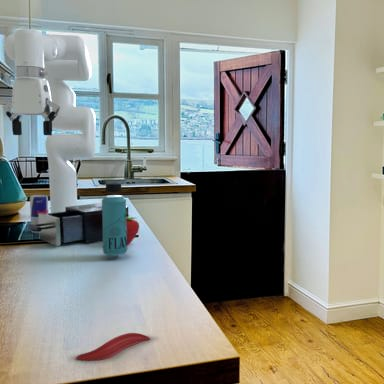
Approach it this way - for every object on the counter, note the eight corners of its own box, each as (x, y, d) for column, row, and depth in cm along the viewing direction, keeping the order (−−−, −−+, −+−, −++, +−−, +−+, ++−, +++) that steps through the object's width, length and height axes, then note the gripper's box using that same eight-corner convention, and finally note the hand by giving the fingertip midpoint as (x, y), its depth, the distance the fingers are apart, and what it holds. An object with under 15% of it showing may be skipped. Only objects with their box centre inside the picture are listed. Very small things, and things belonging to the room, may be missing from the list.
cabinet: (86, 244, 142) (85, 212, 140) (66, 237, 150) (65, 206, 149) (128, 236, 152) (128, 206, 151) (107, 230, 161) (107, 202, 159)
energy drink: (42, 234, 154) (41, 197, 152) (27, 233, 155) (26, 196, 153) (52, 230, 159) (51, 194, 158) (38, 229, 160) (36, 194, 159)
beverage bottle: (105, 262, 123) (103, 184, 120) (100, 256, 129) (98, 182, 126) (130, 259, 126) (129, 183, 123) (124, 253, 132) (122, 181, 129)
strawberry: (111, 244, 142) (110, 210, 141) (136, 241, 146) (135, 209, 145) (117, 248, 137) (116, 214, 136) (142, 245, 141) (142, 212, 140)
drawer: (41, 248, 133) (40, 220, 132) (24, 241, 140) (23, 215, 139) (99, 238, 145) (99, 213, 144) (81, 232, 153) (80, 208, 152)
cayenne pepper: (79, 364, 70) (78, 352, 70) (72, 351, 74) (72, 340, 74) (157, 346, 76) (157, 335, 76) (147, 335, 80) (147, 324, 80)
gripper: (65, 76, 139) (66, 135, 141) (11, 77, 142) (13, 135, 144) (50, 72, 132) (52, 135, 134) (-6, 73, 135) (-3, 134, 137)
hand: (32, 135), depth 139 cm, fingers open, 9 cm apart
